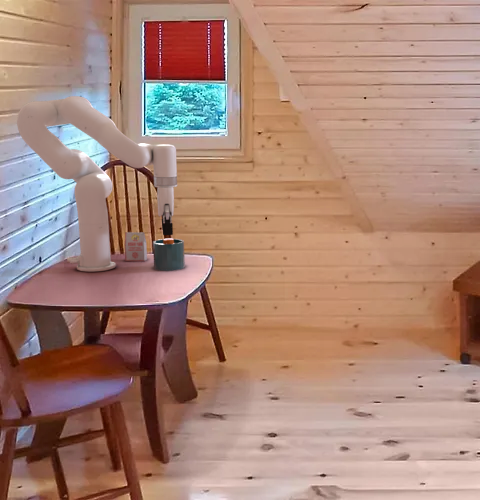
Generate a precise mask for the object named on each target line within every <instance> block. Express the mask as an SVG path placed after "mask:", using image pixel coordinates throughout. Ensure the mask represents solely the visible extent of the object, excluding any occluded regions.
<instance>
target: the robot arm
mask: <svg viewBox="0 0 480 500" xmlns="http://www.w3.org/2000/svg"><path fill="white" fill-rule="evenodd" d="M69 124H70V125H71V126H73V127H75V128H76V129H78V130H79V131H81V132H82V133H83V134H85V135H87V136H88V137H90V138H92V140H94V141H95V142H97V143H98V144H99V145H100V146H101V147H103V148H104V149H105V150H106V151H107V152H109V153H110V154H111V155H113V156H114V157H116V158H117V159H119V160H120V161H121V162H123V163H125V164H126V165H127V166H129V167H131V168H134V169H141V168H144V167H148V166H152V168H153V187H155V188H157V195H156V197H157V215H158V217H159V218H161V230H162V235H163V236H173V235H174V228H173V226H174V225H173V220H172V219H173V217H174V211H175V188H177V187H178V166H177V164H178V163H177V148H176V146H175V145H173V144H151V143H137V142H135V141H134V140H132V139H131V138H130V137H128V136H127V135H125V134H124V133H122V131H121V130H120V129H119V128H118V127H117V126H116V124H115V122H114V121H113V120H112V119H111V118H110V117H108V116H106V115H105V114H103V113H102V112H101V111H99V110H98V109H96V108H94V107H93V105H92V103H91V102H90V101H89V100H88V99H87V98H86V97H84V96H81V95H80V96H78V95H70V96H67V97H65V98H60V99H59V98H58V99H51V100H34V101H33V100H32V101H29V102H27V103H25V104H24V105H22V107H21V108H20V110H19V112H18V114H17V119H16V126H17V130H18V134H19V136H20V138H21V139H22V140H23V141H24V143H25V144H26V145H27V146H28V147H29V148H30V149H31V150H32V151H33V152H34V153H35V154H36V155H37V156H38V157H39V158H40V159H41V160H42V161H43V162H44V163H45V164H46V165H47V166H48V167H49V168H50V169H51V170H52V171H53V172H54V173H55V174H56V175H57V176H58V177H59V178H61V179H63V180H72V181H74V182H75V187H74V198H75V199H74V200H75V203H76V204H75V205H76V211H77V221H78V235H79V248H80V250H79V251H80V254H79V255H77V256H76V257H73V256H72V257H71V256H70V257H66V263H67V264H70V265H73V264H77V265H76V270H78V271H80V272H89V273H91V272H93V273H94V272H105V271H109V270H113V269H115V268H116V266H117V264H116V262H115V261H112V259H111V257H112V256H111V242H110V225H109V213H108V207H107V201H106V199H107V198H108V197H109V196H110V195H111V194H112V192H113V187H114V186H113V182H112V180H111V177H110V176H109V175H108V174H107V173H106V172H105V171H104V170H103V169H102V168H101V167H100V166H99V165H98V164H97V163H96V162H95V161H94V160H93V159H92V158H91V157H90V156H89V155H88V154H86V153H85V152H84V151H82V150H80V149H75V148H69V147H68V146H67V145H65V143H63V142H62V140H60V138H59V137H58V136H57V135H55V134H54V133H53V132H52V131H50V130H49V129H48V128H49V127H55V126H64V125H69Z"/></svg>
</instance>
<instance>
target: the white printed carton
mask: <svg viewBox="0 0 480 500" xmlns="http://www.w3.org/2000/svg"><path fill="white" fill-rule="evenodd" d="M145 233H146V232H145V231H144V232H142V231H141V232H139V231H138V232H137V231H136V232H135V231H134V232H131V231H128V232H127V231H126V232H124V261H125V262H145V261H147V260H148V250H147V248H148V247H147V239H146V234H145Z"/></svg>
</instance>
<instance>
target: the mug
mask: <svg viewBox="0 0 480 500" xmlns="http://www.w3.org/2000/svg"><path fill="white" fill-rule="evenodd" d="M163 239H164V238H162V239H157V240H153V241H152V248H153V249H152V251H153V269H154V270H156V271H163V272H170V271H179V270H182V269H184V268H185V267H186V257H185V240H183V239H180V238H173V239H174V243H173V244H163Z"/></svg>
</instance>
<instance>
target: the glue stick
mask: <svg viewBox="0 0 480 500" xmlns="http://www.w3.org/2000/svg"><path fill="white" fill-rule="evenodd" d="M162 239H163V244H173V243H174V239H175V238H172V237H167V238H162Z"/></svg>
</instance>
